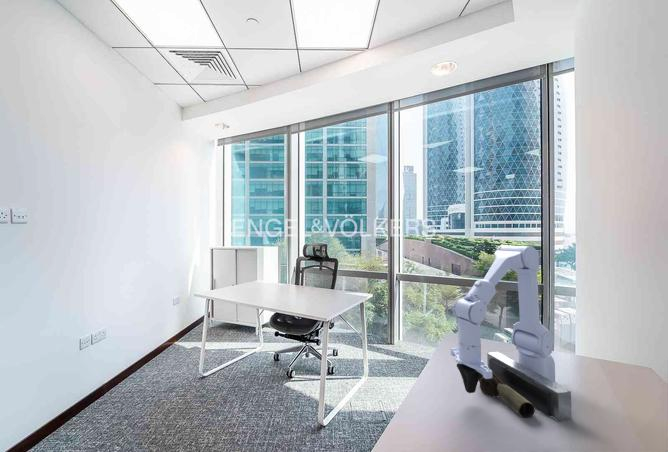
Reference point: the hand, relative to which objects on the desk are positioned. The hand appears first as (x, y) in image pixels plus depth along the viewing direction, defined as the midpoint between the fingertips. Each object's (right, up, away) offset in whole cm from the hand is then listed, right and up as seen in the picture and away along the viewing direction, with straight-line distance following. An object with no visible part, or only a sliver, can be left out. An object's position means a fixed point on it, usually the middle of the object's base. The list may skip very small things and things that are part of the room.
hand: (470, 391), depth 79 cm
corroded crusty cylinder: (+9, -3, +2) cm, 10 cm away
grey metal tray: (+18, -3, +4) cm, 18 cm away
